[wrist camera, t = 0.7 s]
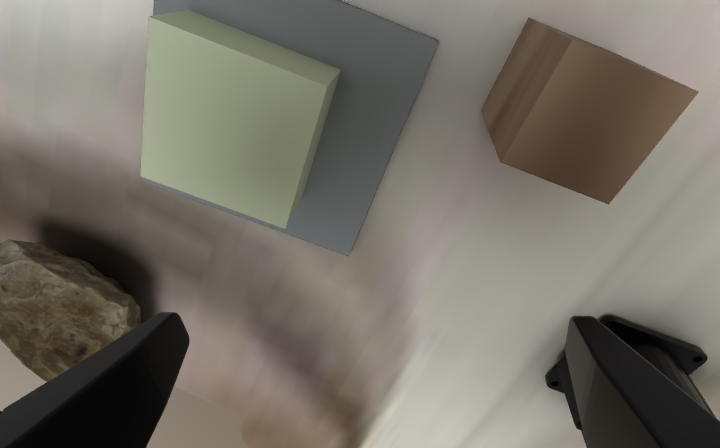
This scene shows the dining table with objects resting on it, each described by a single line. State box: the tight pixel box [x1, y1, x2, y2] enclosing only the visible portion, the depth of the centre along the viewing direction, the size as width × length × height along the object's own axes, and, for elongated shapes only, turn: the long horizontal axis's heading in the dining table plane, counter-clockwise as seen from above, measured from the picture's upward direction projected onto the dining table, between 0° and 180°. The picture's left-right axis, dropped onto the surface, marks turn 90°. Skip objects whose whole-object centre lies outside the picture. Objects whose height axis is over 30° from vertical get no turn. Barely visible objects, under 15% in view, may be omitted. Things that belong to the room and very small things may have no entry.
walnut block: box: [481, 18, 698, 204], centre depth 15 cm, size 4×4×6 cm
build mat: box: [144, 0, 439, 256], centre depth 20 cm, size 12×12×1 cm
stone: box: [0, 240, 141, 382], centre depth 27 cm, size 13×8×8 cm
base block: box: [141, 10, 341, 229], centre depth 19 cm, size 7×7×3 cm
